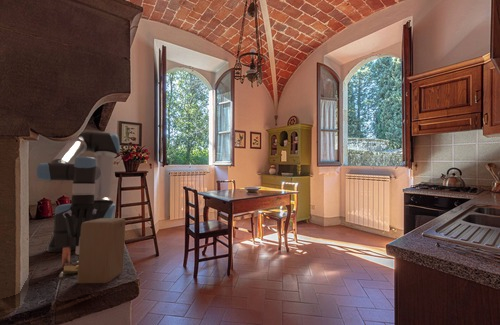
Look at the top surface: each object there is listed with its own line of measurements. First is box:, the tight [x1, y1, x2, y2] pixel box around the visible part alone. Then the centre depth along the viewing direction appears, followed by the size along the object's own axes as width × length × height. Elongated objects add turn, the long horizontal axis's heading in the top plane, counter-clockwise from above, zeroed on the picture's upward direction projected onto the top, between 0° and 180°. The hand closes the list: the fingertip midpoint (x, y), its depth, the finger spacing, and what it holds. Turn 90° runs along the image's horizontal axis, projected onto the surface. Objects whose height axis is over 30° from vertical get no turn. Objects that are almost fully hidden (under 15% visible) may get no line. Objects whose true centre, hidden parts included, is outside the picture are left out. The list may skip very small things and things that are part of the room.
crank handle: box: [61, 247, 79, 274], centre depth 84 cm, size 13×7×7 cm, turn 59°
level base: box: [56, 269, 78, 279], centre depth 82 cm, size 9×9×2 cm
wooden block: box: [76, 217, 126, 284], centre depth 78 cm, size 10×10×20 cm
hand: (79, 253), depth 91 cm, fingers closed
